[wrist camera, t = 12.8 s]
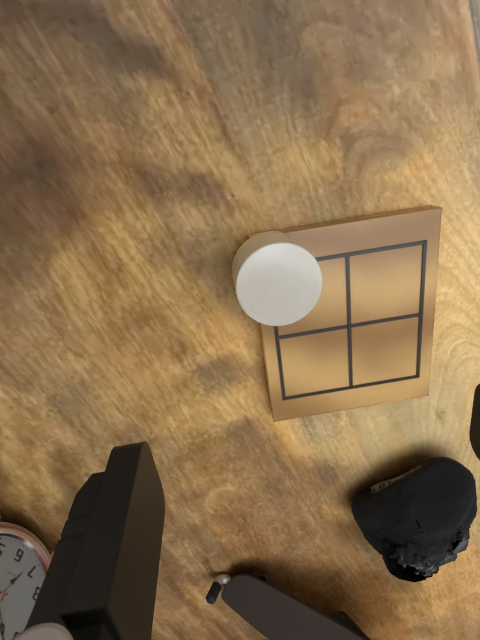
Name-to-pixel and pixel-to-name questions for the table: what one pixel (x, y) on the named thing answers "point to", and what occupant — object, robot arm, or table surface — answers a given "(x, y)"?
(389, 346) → the board
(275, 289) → the stone
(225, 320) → the table surface
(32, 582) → the alarm clock
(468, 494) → the rock
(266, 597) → the laptop tray
